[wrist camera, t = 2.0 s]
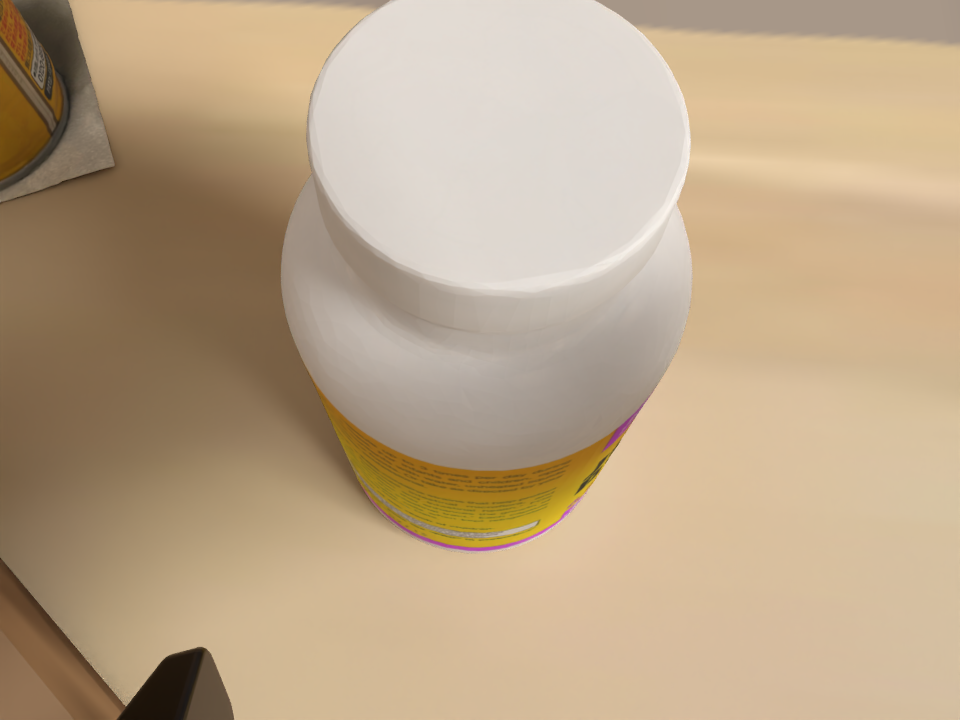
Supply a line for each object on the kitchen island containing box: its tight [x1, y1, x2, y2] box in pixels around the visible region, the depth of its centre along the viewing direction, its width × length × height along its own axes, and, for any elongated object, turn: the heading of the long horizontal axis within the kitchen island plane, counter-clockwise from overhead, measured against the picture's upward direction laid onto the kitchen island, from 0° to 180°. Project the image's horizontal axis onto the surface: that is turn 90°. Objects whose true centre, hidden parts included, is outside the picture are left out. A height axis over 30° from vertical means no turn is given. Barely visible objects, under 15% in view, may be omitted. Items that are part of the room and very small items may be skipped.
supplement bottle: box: [281, 0, 692, 553], centre depth 16 cm, size 7×7×13 cm
